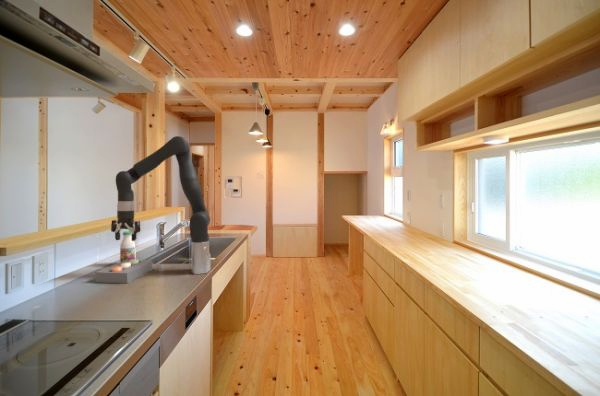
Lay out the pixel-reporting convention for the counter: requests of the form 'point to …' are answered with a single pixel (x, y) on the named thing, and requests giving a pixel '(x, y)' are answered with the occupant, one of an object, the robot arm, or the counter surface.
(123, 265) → the off-white button
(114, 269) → the terracotta button
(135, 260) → the sage button
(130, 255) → the milk bottle
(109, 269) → the button console
